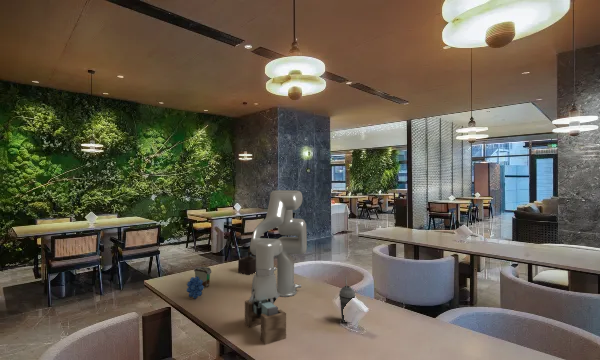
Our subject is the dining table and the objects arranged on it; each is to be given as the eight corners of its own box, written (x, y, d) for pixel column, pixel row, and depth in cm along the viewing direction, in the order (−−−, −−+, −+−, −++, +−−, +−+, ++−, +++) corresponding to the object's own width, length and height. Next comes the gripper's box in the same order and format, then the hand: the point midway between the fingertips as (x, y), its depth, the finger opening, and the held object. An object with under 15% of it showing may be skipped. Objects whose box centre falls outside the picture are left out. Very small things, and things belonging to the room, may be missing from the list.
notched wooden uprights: (263, 318, 143) (263, 297, 144) (285, 338, 125) (286, 313, 126) (244, 323, 139) (244, 300, 139) (265, 344, 121) (265, 318, 121)
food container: (215, 285, 191) (215, 268, 191) (207, 288, 185) (208, 271, 185) (202, 281, 197) (202, 265, 197) (194, 284, 192) (194, 267, 192)
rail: (260, 308, 140) (260, 295, 140) (277, 322, 126) (277, 307, 126) (252, 310, 138) (252, 296, 138) (268, 324, 124) (268, 309, 124)
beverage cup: (345, 325, 137) (345, 280, 137) (335, 319, 143) (336, 275, 144) (358, 322, 140) (358, 277, 141) (348, 316, 147) (349, 273, 147)
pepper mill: (236, 273, 217) (237, 247, 217) (247, 269, 226) (248, 244, 226) (253, 276, 208) (254, 249, 208) (264, 272, 217) (264, 246, 218)
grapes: (208, 297, 169) (209, 275, 170) (199, 302, 163) (200, 278, 164) (193, 294, 175) (193, 272, 175) (183, 298, 169) (183, 275, 169)
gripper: (278, 266, 140) (277, 308, 140) (242, 272, 131) (242, 316, 131) (286, 270, 134) (286, 314, 133) (249, 276, 125) (249, 323, 124)
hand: (264, 314), depth 132 cm, fingers closed on rail, 4 cm apart
